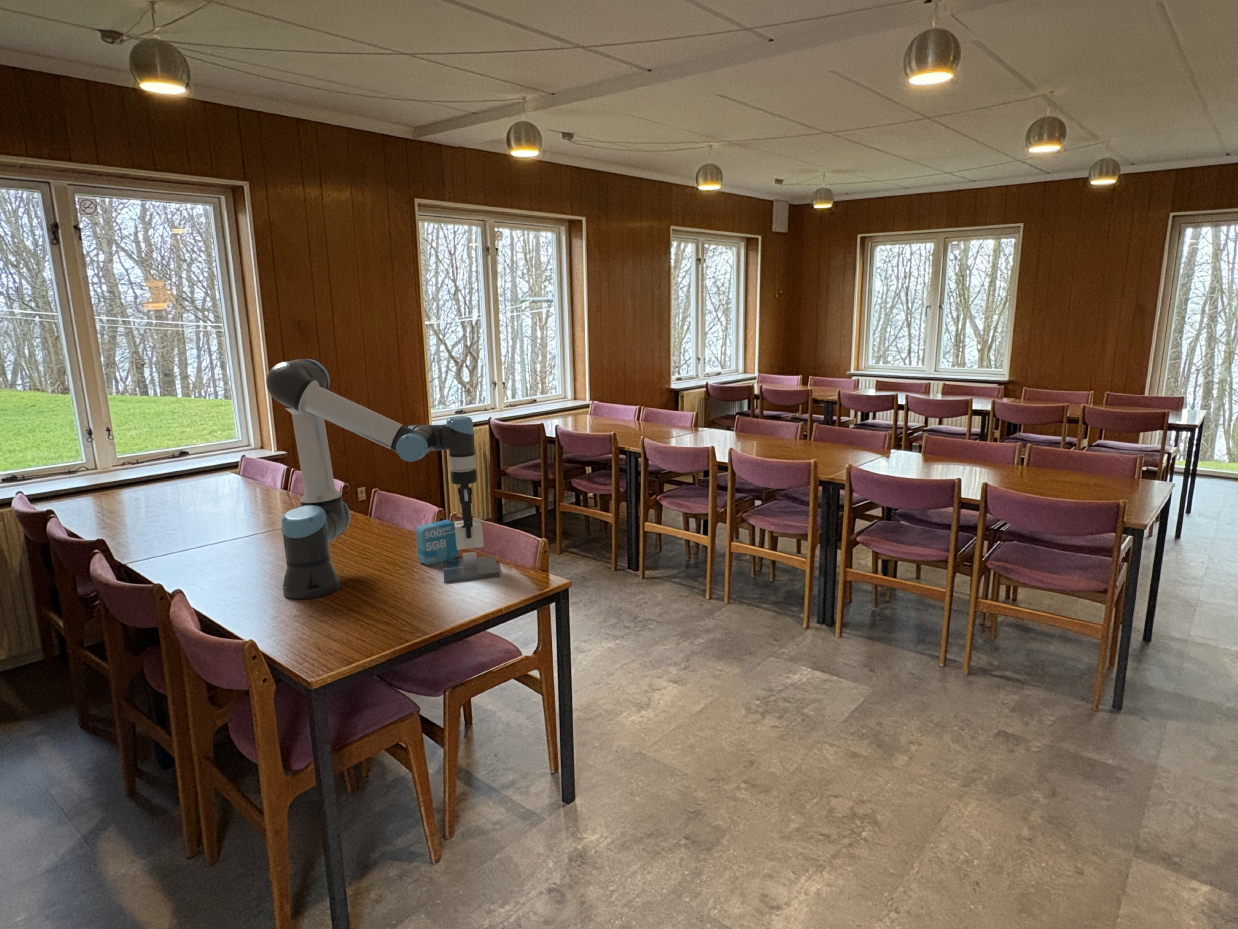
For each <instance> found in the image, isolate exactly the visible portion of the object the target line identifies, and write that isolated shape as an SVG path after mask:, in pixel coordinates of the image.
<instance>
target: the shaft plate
mask: <svg viewBox="0 0 1238 929" xmlns="http://www.w3.org/2000/svg"><path fill="white" fill-rule="evenodd" d="M497 562H498V561H497V559H496V556H495V555H490V556H489V555H488V556H479V557H478V556H477V552H476V551H471V552H463V553H462V558H459V559H457V558H456V559H452V560H448V561H443V562H442V571H443V572H442V573H443V583H444V584H449V583H456V582H458V583H459V582H465V581H474V580H475V581H476V580H485V579H492V578H493V579H494V578H501V577H500V570H499V566H498V563H497Z"/></svg>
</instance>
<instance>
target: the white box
mask: <svg viewBox="0 0 1238 929" xmlns="http://www.w3.org/2000/svg"><path fill="white" fill-rule="evenodd" d="M453 522H454V523H455V534H456V545H457V550H459V551H461V550H466V549H465V543H464V530H463V528H461V526H463V525H464V522H463V520H459V521H453ZM472 523H473V537H474V548H473V549H478V548H484V547H485V544H484V533H483V532H484V531H483V524H482V518H476V519H475V518H473V519H472ZM469 549H471V548H469ZM469 549H468V550H469Z"/></svg>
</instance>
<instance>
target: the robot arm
mask: <svg viewBox="0 0 1238 929" xmlns="http://www.w3.org/2000/svg"><path fill="white" fill-rule="evenodd" d="M329 374H330V373H329V372H328V370H327V369H326V367H325V366H323V365H322V364H321V363H320V362H318V361H316V360H314V359H311V358H310V359H309V358H299V359H294V360H293V359H292V360H289V361H282V362H279V363H276V364H275V365H274V366H273V367H271V369H270V370H269V371H268V373H267V375H266V381H265V382H266V383H265V384H266V390H267V391H268V393H269V395H270V396H271V397H272V398H273V399H274V401H277V402H278V403H280V404H281V405H284V409H285V410H286V411H288V412H289V413H290V414H291V416H292V423H293V429H294V430H293V431H294V437H295V442H296V448H297V455H298V459H299V460H298V462H299V467H300V473H301V479H302V486H303V489H304V490H303V492H304V494H303V496H302V497H301V498H300V499H299V500H300V501H299V502H300V506H299V507H296V508H293V509H292V508H291V509H290V510H288V511H287V512H285V513H284V514H283V516H282V517H281V532H282V538H283V539H282V540H283V546H284V554H285V563H286V571H285V575H284V579H283V583H282V592H283V596H284V597H285V598H288V599H293V600H308V599H309V600H310V599H314V598H320V597H324V596H327V595H329V594H331V593H334V592H336V591H337V590H339V588H340V586H341V584H340V577H339V576H338V574H337V571H336V570H335V567H334V565H333V563H332V560H331V552H330V543H331V542H332V541H334V540H335V539H336V538H338V537H340V536H341V535H342V534H344V532H345V530H346V529H347V528H348V527H349V525H350V522H351V511H350V508H349V507H348V504H346V503H345V502H344V501H343V496H342V493H341V492H340V491H338V490H337V489H336V487H335V481H334V480H335V478H334V474H333V467H332V460H331V454H330V447H329V442H328V435H327V433H328V432H327V427H326V422H325V421H327V422H329V423H332V424H334V425H336V426H338V427H340V428H343V429H345V430H347V431H350V432H353V433H354V434H356V435H359V436H360V437H363V438H365V439H368V440H370V441H372V442H374V443H376V444H379V445H380V446H383V447H385V448H387V449H389V450H392V451H394V452H395V453H397V455H398V457H400V459H401V460H403V461H405V462H409V463H411V462H412V463H413V462H416V461H418V460H421V459H423V458H424V457H425V456H426V455H427V454H428V453H430V452H432V451H448V457H449V458H448V459H449V460H448V461H449V469H450V470H451V471H450V481H451V482H450V483H451V484H453V485H455V486H456V485H459V486H458V488H457V493H458V494H457V495H458V497H459V503H460V504H459V505H460V506H461V516H462V517H461V519H462V520H461V521H463V522H464V525H463V526H461V528H463V530H464V543H465V549H464V550H467V549H468V550H469V548H470V549H475V548H474V537H473V523H472V520H474V516H473V514H472V513H473V512H472V503H473V496H472V495H473V489H472V487H471V486H470V484H474V483H476V482H477V481H478V474H477V473H478V472H477V469H476V467H477V463H476V461H478V457H477V456H476V448H475V447H476V446H475V431H474V430H475V429H474V424H473V419H472V418H471V417H470V416H465V415H464V416H463V415H459V416H452V417H451V416H450V417H448V418H446V423H445V424H414V425H408V426H405V425H404V424H402V423H400V422H398V421H395V420H393V419H391V418H389V417H386V416H384V415H383V414H380V413H378V412H376V411H374V410H372V409H369V408H367V407H365V406H364V405H361V404H358V403H356V402H355V401H352V400H349V399H348V398H345V397H344V396H341V395H339V394H337V393H335V392H333V391H330V390H328V389H329V387H330V384H331V379H330V376H329Z"/></svg>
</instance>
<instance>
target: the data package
mask: <svg viewBox="0 0 1238 929" xmlns="http://www.w3.org/2000/svg"><path fill="white" fill-rule="evenodd" d="M454 522H455V521H451V520H449V519H445V520H444V519H443V520H439V521H435V522H430V523H426V524H425V523H424V524H421V525H418V527H416V529H415V536H416V548H417V559H418V561H419V563H420V562H421V563H422V564H424V565H426V566H433V565H435V564H440V563H443V561H448V560H456V559H457V558H458V557H459V555H460V550H457V545H456V534H455V523H454Z"/></svg>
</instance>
